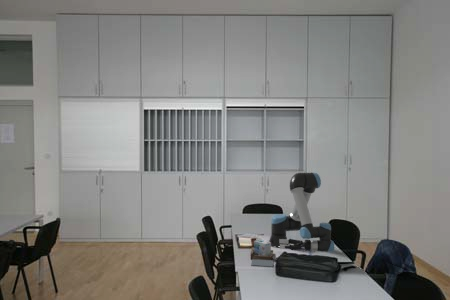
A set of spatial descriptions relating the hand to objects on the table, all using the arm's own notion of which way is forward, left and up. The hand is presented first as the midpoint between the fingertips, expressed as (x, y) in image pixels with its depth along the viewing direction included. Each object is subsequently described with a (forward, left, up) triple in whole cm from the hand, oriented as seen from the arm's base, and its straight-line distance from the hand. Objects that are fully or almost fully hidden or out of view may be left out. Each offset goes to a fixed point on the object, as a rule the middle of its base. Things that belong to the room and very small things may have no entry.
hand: (279, 243), depth 242 cm
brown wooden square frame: (-1, -12, -10) cm, 16 cm away
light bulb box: (-1, -12, -10) cm, 16 cm away
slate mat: (+14, -11, -10) cm, 20 cm away
